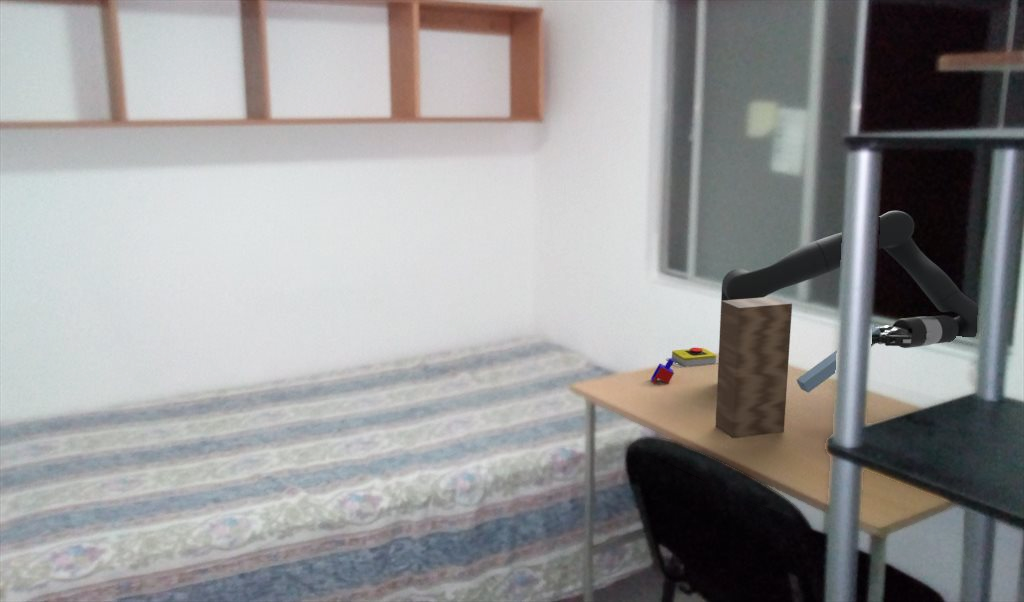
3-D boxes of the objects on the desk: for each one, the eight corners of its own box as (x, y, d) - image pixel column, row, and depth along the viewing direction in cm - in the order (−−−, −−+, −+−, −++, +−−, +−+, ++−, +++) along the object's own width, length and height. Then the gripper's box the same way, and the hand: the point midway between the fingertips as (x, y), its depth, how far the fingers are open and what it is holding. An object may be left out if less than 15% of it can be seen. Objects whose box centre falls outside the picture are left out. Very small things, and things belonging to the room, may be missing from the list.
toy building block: (665, 388, 232) (678, 365, 231) (652, 382, 232) (665, 358, 231) (663, 384, 236) (677, 361, 234) (650, 378, 236) (664, 354, 234)
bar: (875, 334, 203) (870, 325, 202) (883, 337, 200) (879, 328, 199) (800, 389, 201) (796, 379, 200) (808, 392, 198) (803, 383, 197)
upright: (765, 420, 203) (772, 296, 196) (783, 431, 195) (792, 303, 188) (715, 426, 199) (721, 300, 192) (732, 438, 192) (738, 307, 185)
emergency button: (722, 351, 250) (678, 355, 246) (721, 364, 251) (677, 369, 247) (707, 343, 258) (664, 347, 255) (706, 356, 259) (664, 360, 256)
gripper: (898, 311, 210) (841, 317, 206) (939, 323, 197) (880, 330, 193) (896, 339, 212) (840, 345, 208) (936, 353, 199) (877, 360, 194)
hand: (859, 338), depth 200 cm, fingers closed on bar, 3 cm apart
